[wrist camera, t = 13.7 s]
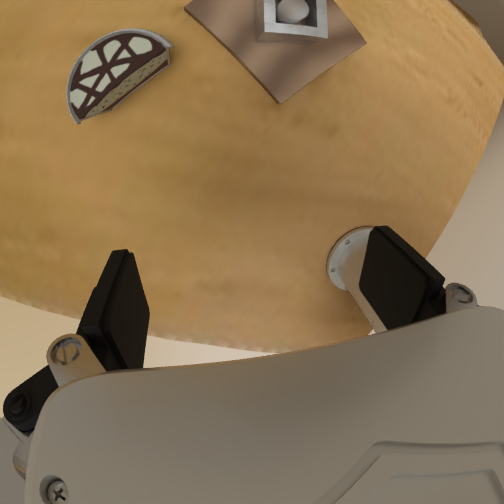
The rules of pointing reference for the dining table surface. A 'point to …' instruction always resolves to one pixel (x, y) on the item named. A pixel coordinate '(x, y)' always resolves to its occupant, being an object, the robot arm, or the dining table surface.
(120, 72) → the food container
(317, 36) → the bracket
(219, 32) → the post board
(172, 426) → the robot arm
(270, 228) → the dining table surface
